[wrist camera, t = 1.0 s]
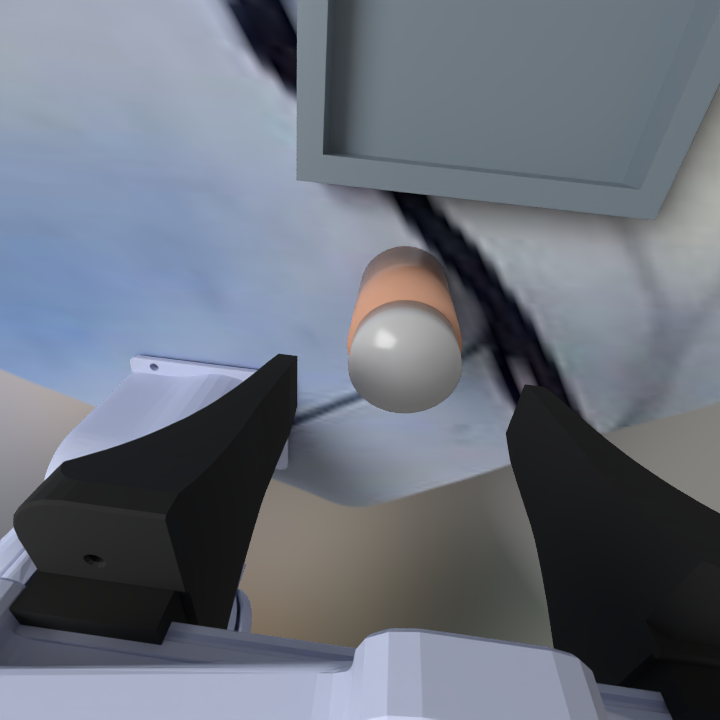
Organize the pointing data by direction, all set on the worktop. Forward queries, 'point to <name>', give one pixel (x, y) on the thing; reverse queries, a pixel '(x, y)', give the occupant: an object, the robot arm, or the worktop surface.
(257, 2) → the worktop surface
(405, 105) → the tray
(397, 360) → the shaker
